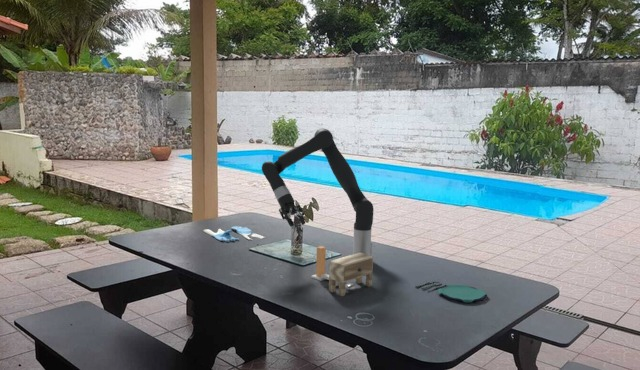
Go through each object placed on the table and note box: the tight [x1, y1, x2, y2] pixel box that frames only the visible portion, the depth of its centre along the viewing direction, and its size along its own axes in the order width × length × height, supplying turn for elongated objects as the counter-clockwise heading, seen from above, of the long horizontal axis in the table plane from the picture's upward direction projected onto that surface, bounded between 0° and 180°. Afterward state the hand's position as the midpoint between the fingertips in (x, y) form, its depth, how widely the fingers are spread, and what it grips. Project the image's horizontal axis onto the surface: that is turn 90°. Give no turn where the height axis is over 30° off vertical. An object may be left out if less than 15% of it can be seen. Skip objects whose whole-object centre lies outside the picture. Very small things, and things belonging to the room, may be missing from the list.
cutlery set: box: [415, 280, 488, 303], centre depth 241 cm, size 20×30×2 cm, turn 43°
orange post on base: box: [311, 245, 347, 287], centre depth 252 cm, size 16×8×15 cm, turn 44°
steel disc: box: [345, 282, 357, 292], centre depth 243 cm, size 5×5×2 cm
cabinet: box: [328, 253, 374, 297], centre depth 241 cm, size 10×20×14 cm, turn 134°
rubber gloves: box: [203, 225, 267, 243], centre depth 332 cm, size 27×33×6 cm
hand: (298, 225), depth 263 cm, fingers open, 8 cm apart
